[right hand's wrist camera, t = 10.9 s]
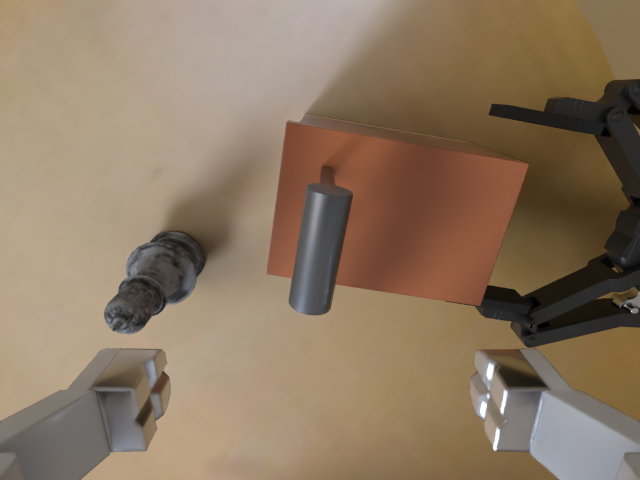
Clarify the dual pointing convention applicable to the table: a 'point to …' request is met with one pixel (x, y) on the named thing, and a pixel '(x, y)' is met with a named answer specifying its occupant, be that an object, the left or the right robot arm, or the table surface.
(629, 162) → the left robot arm
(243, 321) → the table surface
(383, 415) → the table surface
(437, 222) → the lid
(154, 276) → the grey chess piece
